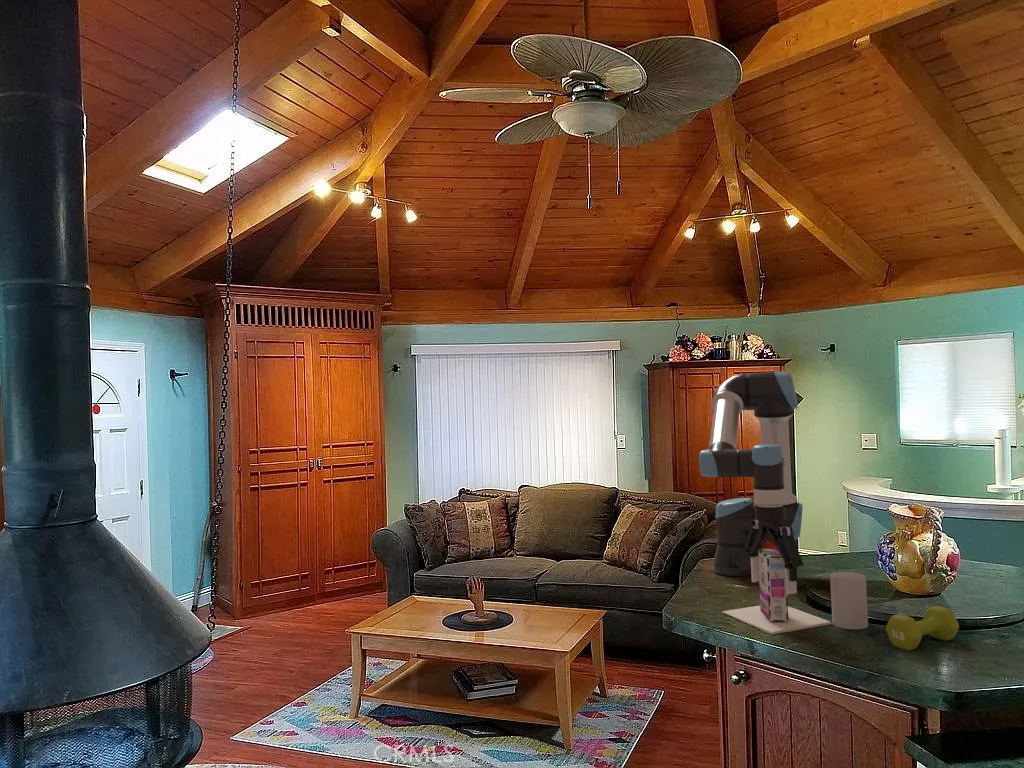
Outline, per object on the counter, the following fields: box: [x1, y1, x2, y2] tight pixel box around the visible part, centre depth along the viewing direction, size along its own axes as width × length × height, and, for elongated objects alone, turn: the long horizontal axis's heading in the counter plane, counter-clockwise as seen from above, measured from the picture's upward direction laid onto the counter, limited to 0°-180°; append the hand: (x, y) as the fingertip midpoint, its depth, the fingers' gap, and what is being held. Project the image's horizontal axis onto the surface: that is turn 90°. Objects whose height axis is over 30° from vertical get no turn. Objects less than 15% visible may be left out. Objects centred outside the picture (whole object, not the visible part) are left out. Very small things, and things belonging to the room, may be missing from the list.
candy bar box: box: [757, 548, 789, 622], centre depth 198 cm, size 11×5×16 cm, turn 174°
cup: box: [829, 571, 869, 630], centre depth 191 cm, size 8×8×12 cm
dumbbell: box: [885, 605, 960, 651], centre depth 175 cm, size 16×8×7 cm, turn 115°
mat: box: [721, 605, 832, 635], centre depth 198 cm, size 18×20×1 cm
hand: (773, 587), depth 198 cm, fingers open, 13 cm apart
